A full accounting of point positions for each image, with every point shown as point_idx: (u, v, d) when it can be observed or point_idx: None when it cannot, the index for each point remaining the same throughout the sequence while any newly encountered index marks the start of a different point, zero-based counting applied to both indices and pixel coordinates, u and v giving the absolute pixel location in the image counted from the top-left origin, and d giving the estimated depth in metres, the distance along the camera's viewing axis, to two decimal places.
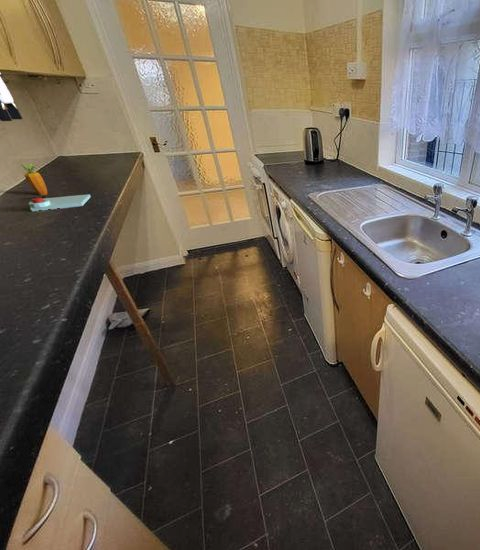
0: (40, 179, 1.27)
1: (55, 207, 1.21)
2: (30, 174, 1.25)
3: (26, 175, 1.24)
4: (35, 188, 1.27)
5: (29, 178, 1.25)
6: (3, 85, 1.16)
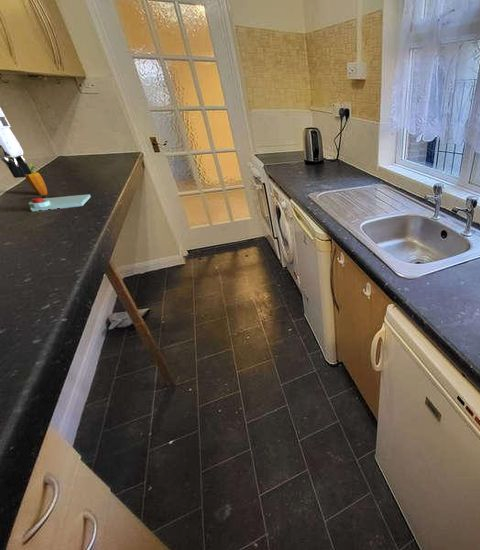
0: (40, 179, 1.27)
1: (55, 207, 1.21)
2: (30, 174, 1.25)
3: (26, 175, 1.24)
4: (35, 188, 1.27)
5: (29, 178, 1.25)
6: (13, 138, 1.09)
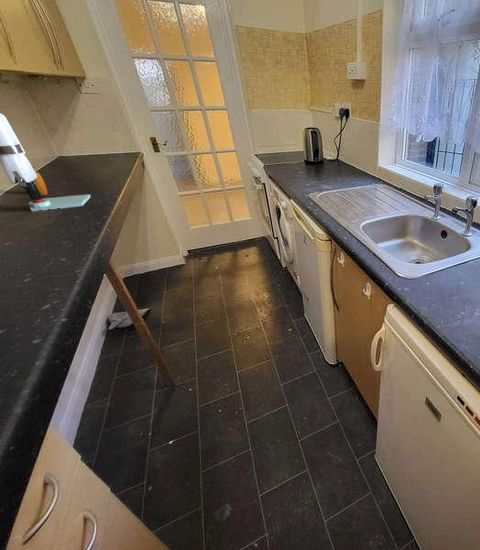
0: (40, 179, 1.27)
1: (55, 207, 1.21)
2: None
3: None
4: None
5: None
6: (27, 163, 1.14)
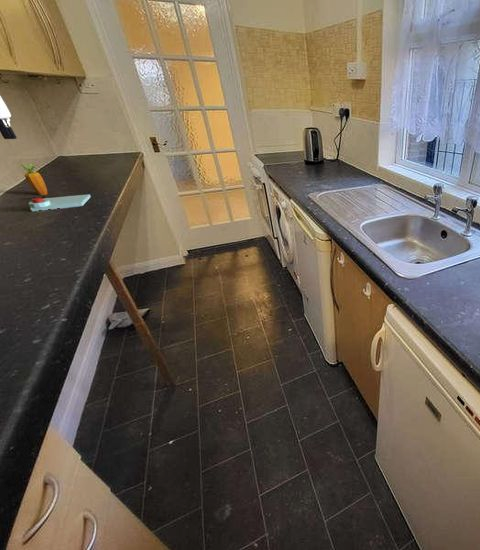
0: (40, 179, 1.27)
1: (55, 207, 1.21)
2: (30, 174, 1.25)
3: (26, 175, 1.24)
4: (35, 188, 1.27)
5: (29, 178, 1.25)
6: (0, 100, 1.12)
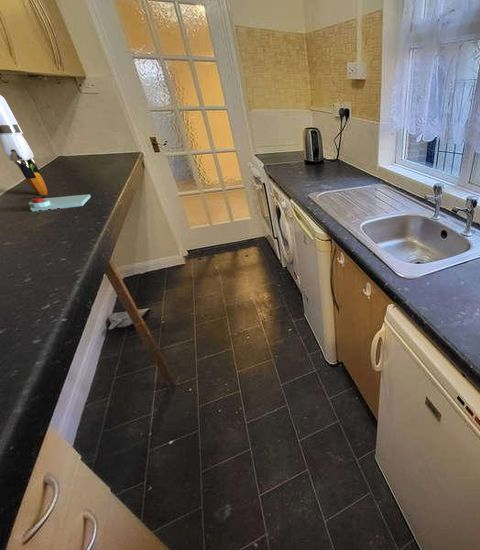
0: (40, 179, 1.28)
1: (55, 207, 1.21)
2: None
3: None
4: (35, 188, 1.27)
5: (29, 178, 1.25)
6: (24, 143, 1.22)
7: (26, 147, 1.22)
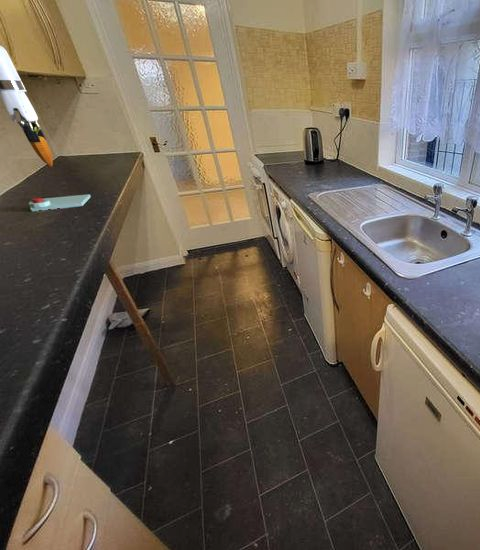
0: (45, 144, 1.17)
1: (55, 207, 1.21)
2: None
3: None
4: (40, 154, 1.17)
5: (33, 142, 1.14)
6: (28, 103, 1.11)
7: (30, 107, 1.12)
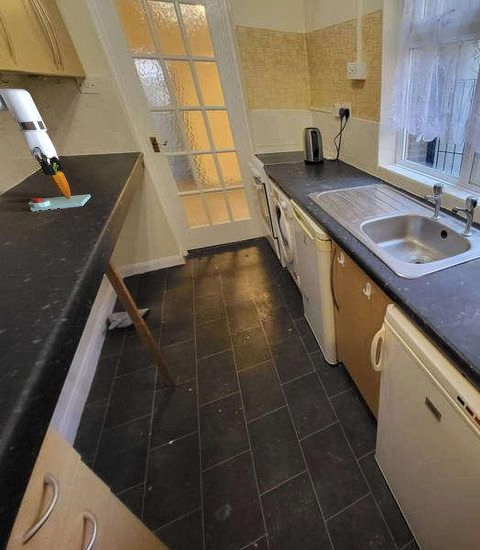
0: (64, 178, 1.24)
1: (55, 207, 1.21)
2: None
3: None
4: (59, 188, 1.23)
5: (53, 177, 1.21)
6: (48, 140, 1.18)
7: (50, 145, 1.18)
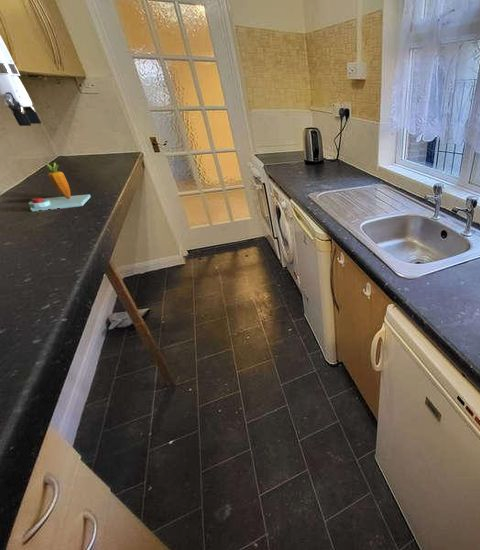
0: (64, 178, 1.24)
1: (55, 207, 1.21)
2: (54, 173, 1.21)
3: (50, 174, 1.20)
4: (59, 188, 1.23)
5: (53, 177, 1.21)
6: (22, 87, 1.08)
7: (24, 92, 1.09)
